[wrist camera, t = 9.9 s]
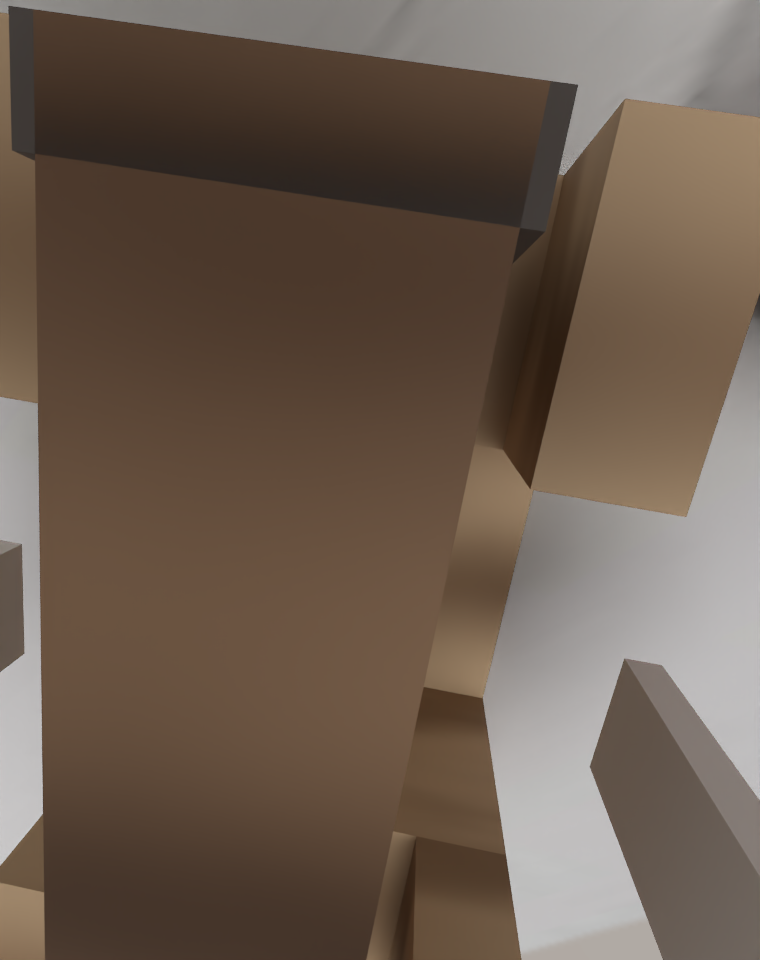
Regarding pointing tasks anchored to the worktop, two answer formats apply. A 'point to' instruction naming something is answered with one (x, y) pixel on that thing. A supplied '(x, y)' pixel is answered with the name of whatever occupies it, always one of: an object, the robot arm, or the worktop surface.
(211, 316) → the rail
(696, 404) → the wooden notched cradle stand
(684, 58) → the worktop surface
